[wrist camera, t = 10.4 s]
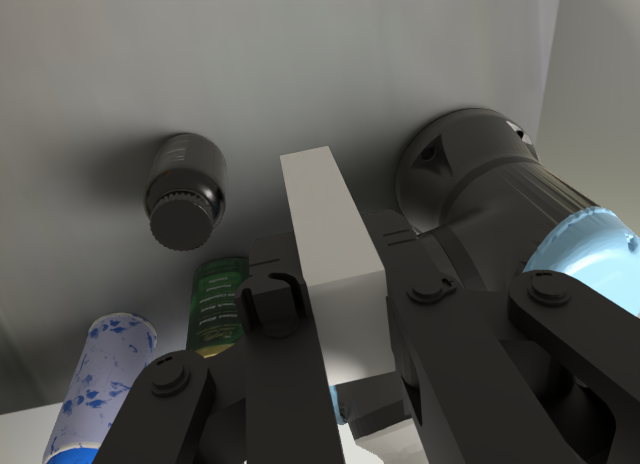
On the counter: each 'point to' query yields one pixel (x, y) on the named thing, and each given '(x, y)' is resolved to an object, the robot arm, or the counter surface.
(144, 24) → the counter surface
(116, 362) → the aerosol can
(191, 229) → the supplement bottle
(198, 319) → the coffee jar
